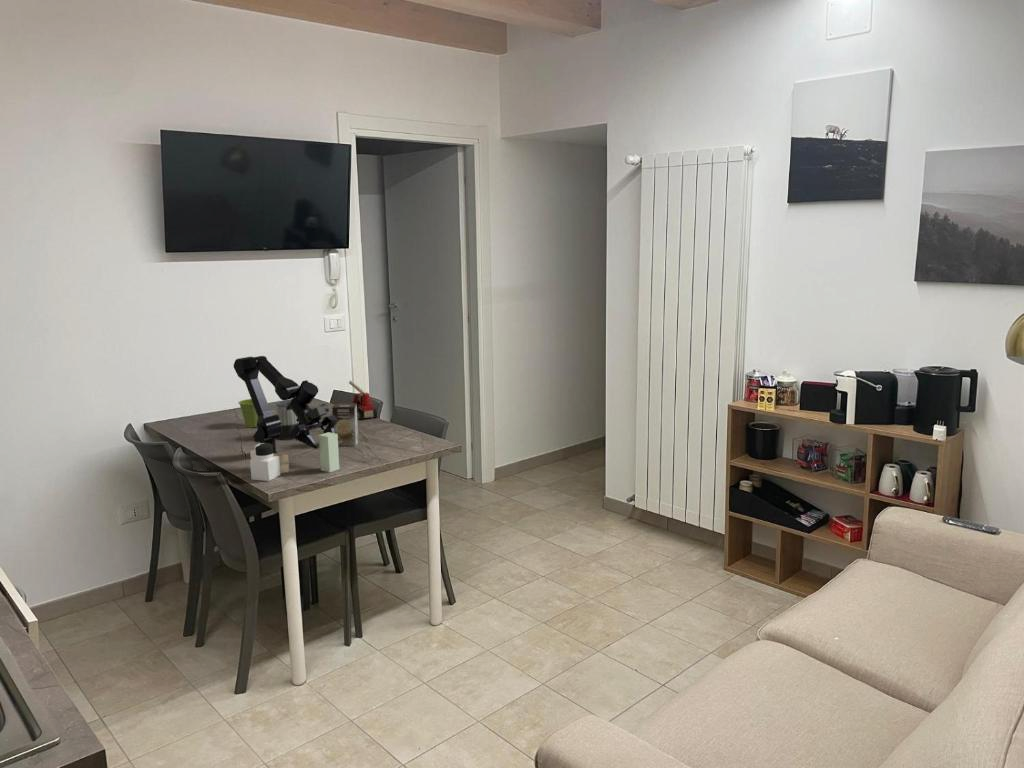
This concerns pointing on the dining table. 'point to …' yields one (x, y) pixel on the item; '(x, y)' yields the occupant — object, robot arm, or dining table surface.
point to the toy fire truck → (363, 404)
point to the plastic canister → (252, 454)
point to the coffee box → (346, 424)
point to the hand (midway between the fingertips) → (326, 445)
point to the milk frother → (286, 419)
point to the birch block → (283, 462)
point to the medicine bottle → (264, 463)
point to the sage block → (329, 452)
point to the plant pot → (249, 413)
